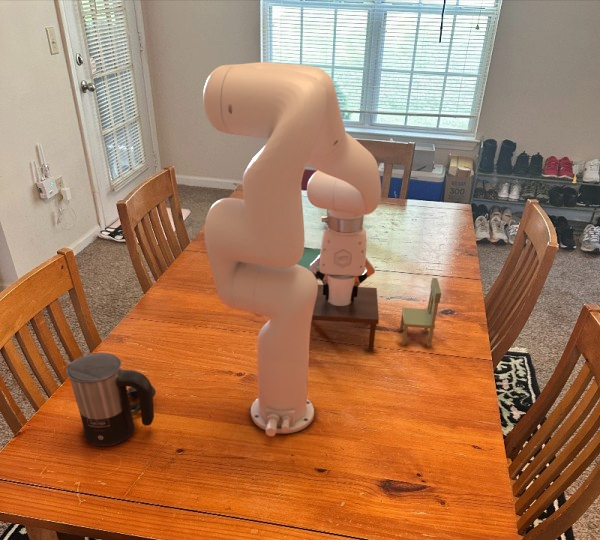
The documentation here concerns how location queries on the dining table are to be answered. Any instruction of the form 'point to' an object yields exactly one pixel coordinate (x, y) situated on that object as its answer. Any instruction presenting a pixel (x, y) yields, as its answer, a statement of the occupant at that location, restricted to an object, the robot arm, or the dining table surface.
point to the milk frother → (109, 397)
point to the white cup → (340, 289)
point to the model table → (350, 310)
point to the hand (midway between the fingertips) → (339, 297)
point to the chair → (422, 314)
